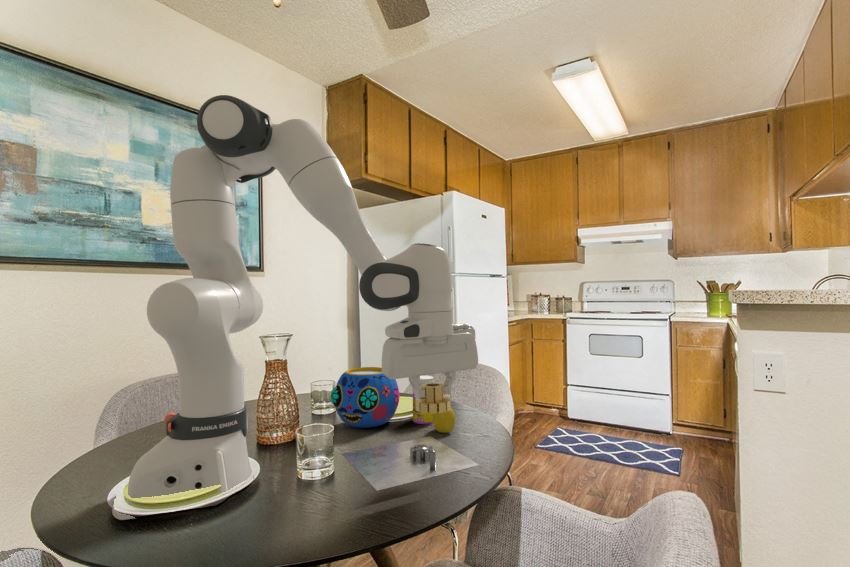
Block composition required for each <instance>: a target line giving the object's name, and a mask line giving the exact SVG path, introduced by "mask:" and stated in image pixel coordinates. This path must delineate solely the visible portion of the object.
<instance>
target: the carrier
mask: <svg viewBox="0 0 850 567" xmlns="http://www.w3.org/2000/svg"><path fill="white" fill-rule="evenodd" d="M341 455H342V456H343V457H344V458H345V459H346V460H347V461H348V462H349V464H351V465H352V466H353V467H354V468H355V470H356V471H358V473H359V474H360V475H361V476H362V477H363V478H364V479H365V480H366V481H367V482H368V483H369V484H370V485H371V486H372V487H373V489H374V490H375V491H376V492H377V491H382V490H385V489H389V488H394V487H397V486H401V485H407V484H409V483H414V482H418V481H421V480H425V479H426V480H427V479H429V478H435V477H437V476H442V475H447V474H449V473H453V472H458V471H462V470H466V469H470V468H474V467H478V466H480V464H479V463H477V462H475V461H473V460H472V459H470V458H469V457H467V456H465V455H463V454H462V453H460V452H458V451H457V450H455V449H454V448H452V447H450V446H448V445H446V444H445V443H443V442H441V441H440V440H438V439H437V438H435V437H432V436H425V437H420V438H415V439H410V440H405V441H400V442H395V443H389V444H384V445H379V446H375V447H370V448H365V449H360V450H354V451H349V452H345V453H341Z"/></svg>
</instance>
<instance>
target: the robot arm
mask: <svg viewBox="0 0 850 567" xmlns="http://www.w3.org/2000/svg"><path fill="white" fill-rule="evenodd" d="M196 125H197V127H196V128H197V131H198V133H199V136H200V138H201V140H202V141H203V143H204V145H202V146H200V147H191V148H186V149H183V150H181V151H179V152H178V153H177V154H176V155H175V156H174V158H173V161H172V166H171V174H170V185H169V186H170V189H169V190H170V191H169V193H170V194H169V195H170V197H169V198H170V210H171V224H172V227H171V228H172V238H173V247H174V249H175V250H176V252H177V254H179V255H180V257H181V258H182V259H183V260H184V261H185V262H186V264H187V266H188V269H189V270H190V272H191V276H192V277H184V278H182V279H176V280H173V281H169V282H166V283H163V284H161V285H160V286H158V287H157V288H156V289H154V290H153V292H152V293H151V294H150V296H149V299H148V301H147V303H146V304H147V305H146V317H147V321H148V323H149V325H150V326H151V328H152V329H153V331H154V332H155V333H156V334H158V335H159V336H160V337H161V338H163V340H164V341H165V342H166V344H167V345H168V347H169V349H170V352H171V353H172V357H173V359H174V362H175V366H176V371H177V379H178V380H177V381H178V408H179V410H178V413H175V412H168V413H167V414H166V415H165V417H164V421H163V422H164V423H165V426H166V427H165V434H166V436H165V437H164V438H163V439H161V440H160V441H159V442H157V443H156V444H155V445H154V446H153V447H152V448H150V449H149V450H147V451H146V452H145V453H144V454H143V455H141V457H139V459H138V460H137V461H136V463H135V464H134V466H133V467H132V469H131V472H130V476H129V479H128V484H127V485H128V495H129V496H130V497H131V498H141V497H152V496H153V497H154V496H161V495H169V494H174V493H179V492H185V491H189V490H195V489H201V488H206V487H210V486H214V485H219V484H220V485H221V488H219V489H218V490H217V491H218V492H226V491H228V490H230V489H231V488H233V487H234V486H236V485H238V484H239V483H241V482H243V481H245V480H247V479H248V478H249V477H250V476H251V474H252V472H253V470H252V466H251V462H250V460H249V459H250V458H249V453H248V447H247V437H246V436H247V435H248V434H247V433H248V425H249V423H248V422H249V421H248V411H247V406H246V405H245V367H244V365H243V363H242V362H241V361H240V360H238V359H237V357H236V355H235V354H234V350H233V347H232V344H231V341H230V340H231V339H230V334H236V333H239V332H242V331H244V330H246V329H247V328H249V327H250V326H252V325H254V324H256V322H258V321H259V319H260V317H261V316H262V313H263V310H264V301H263V300H264V299H263V297H262V295H261V293H260V291H259V290H257V288H256V287H255V286H254V284H253V282H252V280H251V278H250V274H249V272H248V270H247V268H246V264H245V260H244V258H243V255H242V251H241V246H240V241H239V230H238V222H237V212H236V211H237V210H236V201H235V200H236V199H235V185H236V182H237V183H239V184H244V183H247V182H249V181H252V180H255V179H260V178H264V177H267V176H269V175H271V174H272V173H274V171H275V170H277V171H278V173H279V174H280V175H281V177H282V178H283V180H284V181H285V183H286V185H287V186H288V188H289V189H290V191H291V192H292V194H293V196H294V197H295V199H296V200H298V202H299V204H301V206H302V207H303V208H304V209H305V210H306V211H307V213H309V214H310V215H311V216H312V217H313V218H314V219H315V220H316V221H318V222H319V223H320V224H321V225H322V226H324V227H325V228H326V229H328V230H329V231H330V232H331V233H332V234H333V236H335V237H336V239H337V240H339V242H340V243H341V245H342V247H344V250H345V251H346V252H347V253H348V256H349V257H350V258H351V260H352V261H353V263H354V264H355V266H356V268H357V270H358V271H359V273H360V275H361V276H360V279H359V286H358V288H359V293H360V296H361V298H362V299H363V301H364V303H365V304H367V305H368V306H369V307H371V308H372V309H374V310H378V311H381V312H392V311H395V310H397V309H400V308H401V307H406V308H407V310H408V311H407V312H408V314H407V315H408V316H407V317H405V318H403V319H401V320H399V321H396V322H394V323H391V324H389V325H387V326H386V327H385V328H384V330H385V331H384V333H385V336H386V337H387V339H386V340H385V341H384V342H383V346H382V352H381V368H382V373H383V374H384V375H385V377H387V378H389V379H395V380H399V379H408V382H409V384H410V385H411V387H412V390H413V389H414V395H415V398H416V399H424V398H425V389H422V388H420V386H419V384H418V383H417V382H420V376H431V375H437V374H444V376H445V380H444V382H443V384H444V385H445V396H449V395H451V394H452V385H453V383H454V381H455V379H456V376H457V373H456V372H459V371H460V372H461V371H467V370H468V371H469V370H474V369H476V368H477V366H478V365H479V353H478V346H477V342H476V329H475V328H474V327H473V326H472V325H470V324H469V323H461V324H459V323H458V324H457V323H455V324H454V309H453V305H452V302H451V300H452V299H451V295H452V292H453V278H452V277H453V276H452V267H451V261H450V257H449V254H448V252H447V250H445V249H444V248H443V247H441V246H439V245H436V244H431V243H430V244H429V243H419V242H418V243H413V244H412V243H411V244H410V245H409V247H408V248H406V249H405V250H403V251H402V252H400V253H398V254H395V255H394V256H392V257H390V258H387V257H386V256H385V255H384V253H383V252H382V251H381V249H380V247H379V246H378V244H377V242H376V240H374V237H373V236H372V234H371V233H370V231H369V230H368V228H367V226H366V224H365V222H364V219H363V218H362V214H361V211H360V208H359V206H358V202H357V197H356V194H355V192H354V189H353V186H352V184H351V180H350V179H349V177H348V174H347V172H346V170H345V169H344V166H343V164H342V163H341V161H340V160H339V158H338V157H337V155H336V154H335V152H334V151H333V149H332V148H331V146H330V145H329V144H328V142H327V141H326V140H325V139H324V138H323V137H322V135H321V134H320V133H319V131H318V130H316V129H315V128H314V126H312V125H311V123H309V122H308V121H306V120H304V119H301V118H300V119H299V118H291V119H288V120H287V119H286V120H285V121H282V122H280V123H277V124H275V123H273V122H272V119H271V117H270V115H269V114H267V113H266V112H265V111H262V110H260V109H258V108H256V107H255V106H252V104H250V103H248V102H246V101H245V100H243V99H240V98H238V97H235V96H233V95H227V94H221V95H220V94H219V95H216V96H212V97H210V98H208V99H207V100H206V101H205V102H204V103H203V104H202V105H201V106H200V108H199V110H198V113H197V116H196ZM128 504H129V505H132V506H133V505H134V504H133V503H132V502H130V501H128ZM111 514H112V516H113V517H114V518H115V519H117V520H119V521H125V520H130V519H131V520H133V519H136V518H135V517H133V516H130V515H126V514H121V513H119V512H117V511H115V510H114V509H112V508H111Z"/></svg>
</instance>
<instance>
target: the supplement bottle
mask: <svg viewBox="0 0 850 567" xmlns="http://www.w3.org/2000/svg"><path fill="white" fill-rule="evenodd" d="M417 383H418V384H419V386H420V388H421V385H422V384H425V383H434V376H433V375H423V376H420V382H417ZM415 399H416V398H415V395H414V389H413V388H412V422H413V423H415V424H419V425H433V426H434V423H433V415H434V414H429V413H428V414H427V413H421V412H418V411H416V409H415Z"/></svg>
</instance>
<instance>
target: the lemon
mask: <svg viewBox="0 0 850 567" xmlns="http://www.w3.org/2000/svg"><path fill="white" fill-rule="evenodd" d="M433 423H434V425H433V426H434V428H435V430H436V431H437V432H438V433H441V434H447V433H451V432H452V430H454V428H455V426H456V416H455V412H454V409H453V408H452V407H451V410H449V411H446V412H443V413H438V412H437V413H434V415H433Z"/></svg>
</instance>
